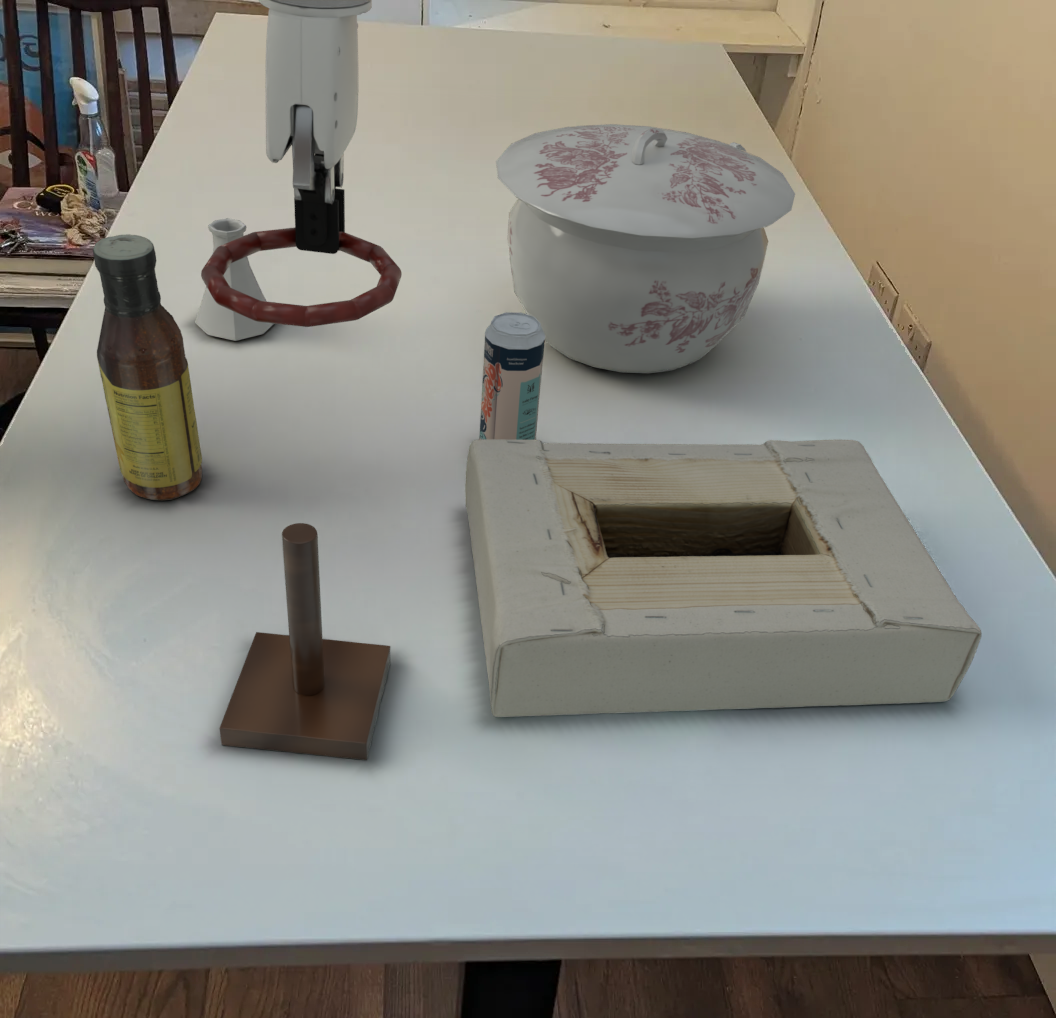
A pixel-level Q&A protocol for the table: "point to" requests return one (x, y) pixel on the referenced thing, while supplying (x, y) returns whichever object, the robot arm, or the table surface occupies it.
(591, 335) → the chamber pot
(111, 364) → the sauce bottle
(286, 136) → the robot arm
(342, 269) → the table surface
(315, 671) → the post
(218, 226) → the flask
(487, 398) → the beer can
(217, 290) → the ring
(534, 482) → the box
